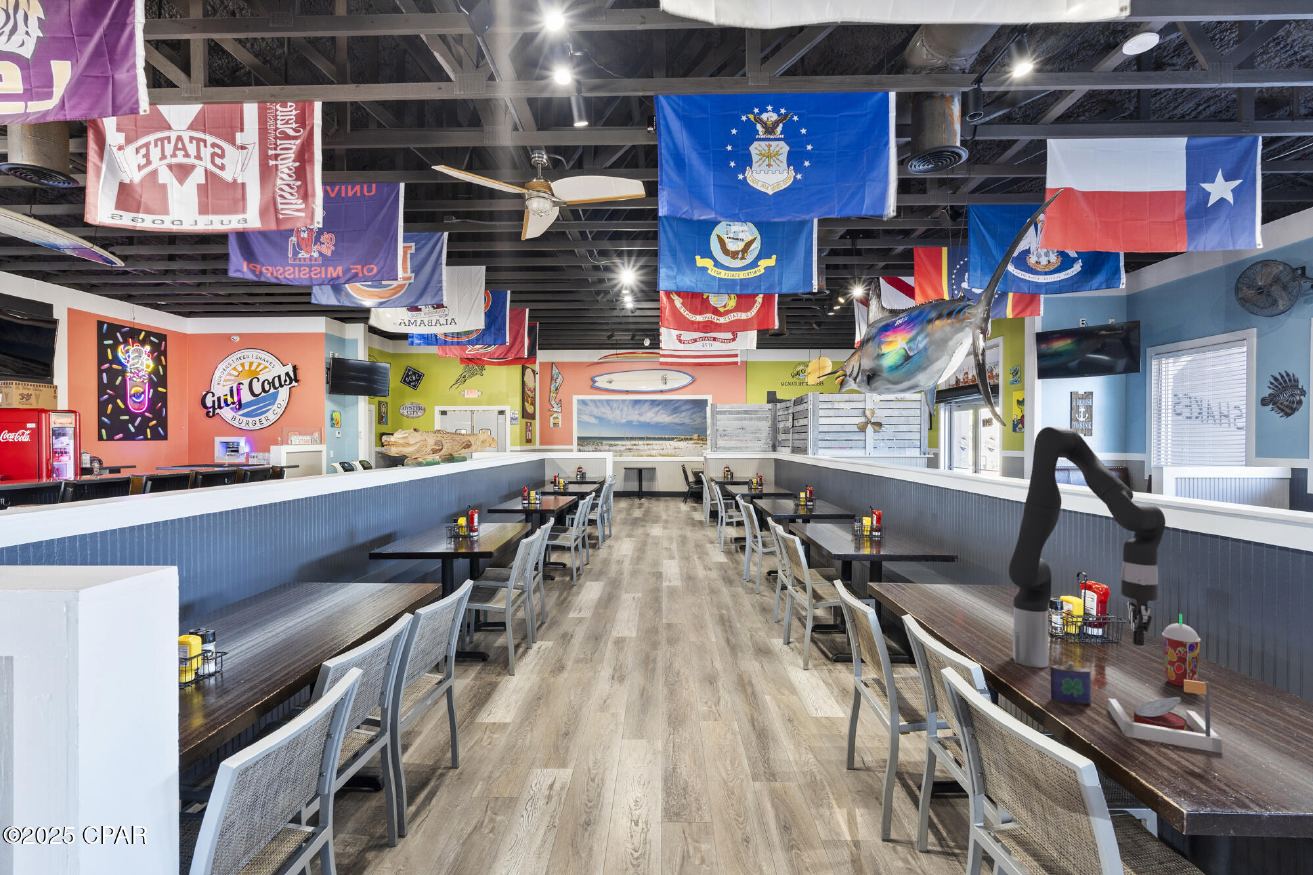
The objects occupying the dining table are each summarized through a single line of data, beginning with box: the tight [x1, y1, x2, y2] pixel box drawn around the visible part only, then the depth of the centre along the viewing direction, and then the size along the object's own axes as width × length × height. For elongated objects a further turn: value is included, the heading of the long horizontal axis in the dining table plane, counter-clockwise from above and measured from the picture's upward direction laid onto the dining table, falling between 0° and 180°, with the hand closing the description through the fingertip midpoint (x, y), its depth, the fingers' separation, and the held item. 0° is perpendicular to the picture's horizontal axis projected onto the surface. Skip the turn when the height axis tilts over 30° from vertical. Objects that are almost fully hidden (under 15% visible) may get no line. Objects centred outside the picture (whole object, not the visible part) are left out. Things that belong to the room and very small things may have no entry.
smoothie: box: [1161, 613, 1201, 688], centre depth 170 cm, size 8×8×20 cm
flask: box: [1049, 661, 1092, 706], centre depth 156 cm, size 9×3×11 cm, turn 74°
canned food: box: [1133, 696, 1188, 731], centre depth 142 cm, size 11×10×10 cm
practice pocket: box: [1107, 680, 1223, 754], centre depth 141 cm, size 17×16×15 cm
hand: (1137, 644), depth 156 cm, fingers closed
